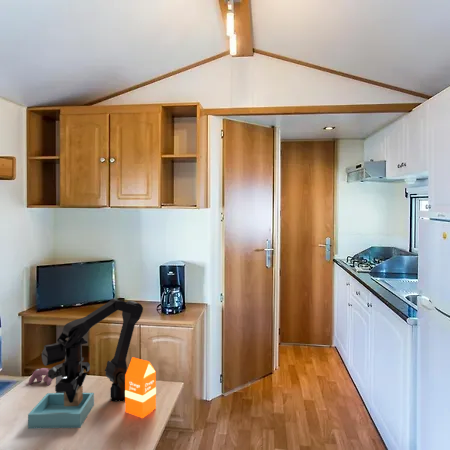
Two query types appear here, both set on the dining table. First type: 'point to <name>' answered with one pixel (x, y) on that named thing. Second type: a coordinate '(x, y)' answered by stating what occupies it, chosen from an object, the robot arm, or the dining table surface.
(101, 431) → the dining table surface
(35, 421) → the tote
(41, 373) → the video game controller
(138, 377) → the orange juice
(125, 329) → the robot arm
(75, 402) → the walnut cube
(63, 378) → the steel cylinder
